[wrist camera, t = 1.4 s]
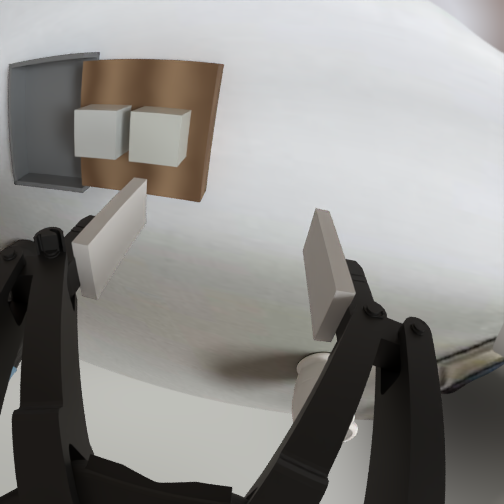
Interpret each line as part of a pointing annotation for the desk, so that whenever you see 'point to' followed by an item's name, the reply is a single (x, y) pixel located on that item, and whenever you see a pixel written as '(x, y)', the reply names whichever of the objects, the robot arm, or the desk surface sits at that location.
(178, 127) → the tile
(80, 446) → the robot arm
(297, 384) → the jar
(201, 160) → the board
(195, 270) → the desk surface
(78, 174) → the tray
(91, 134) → the light grey block
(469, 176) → the desk surface
